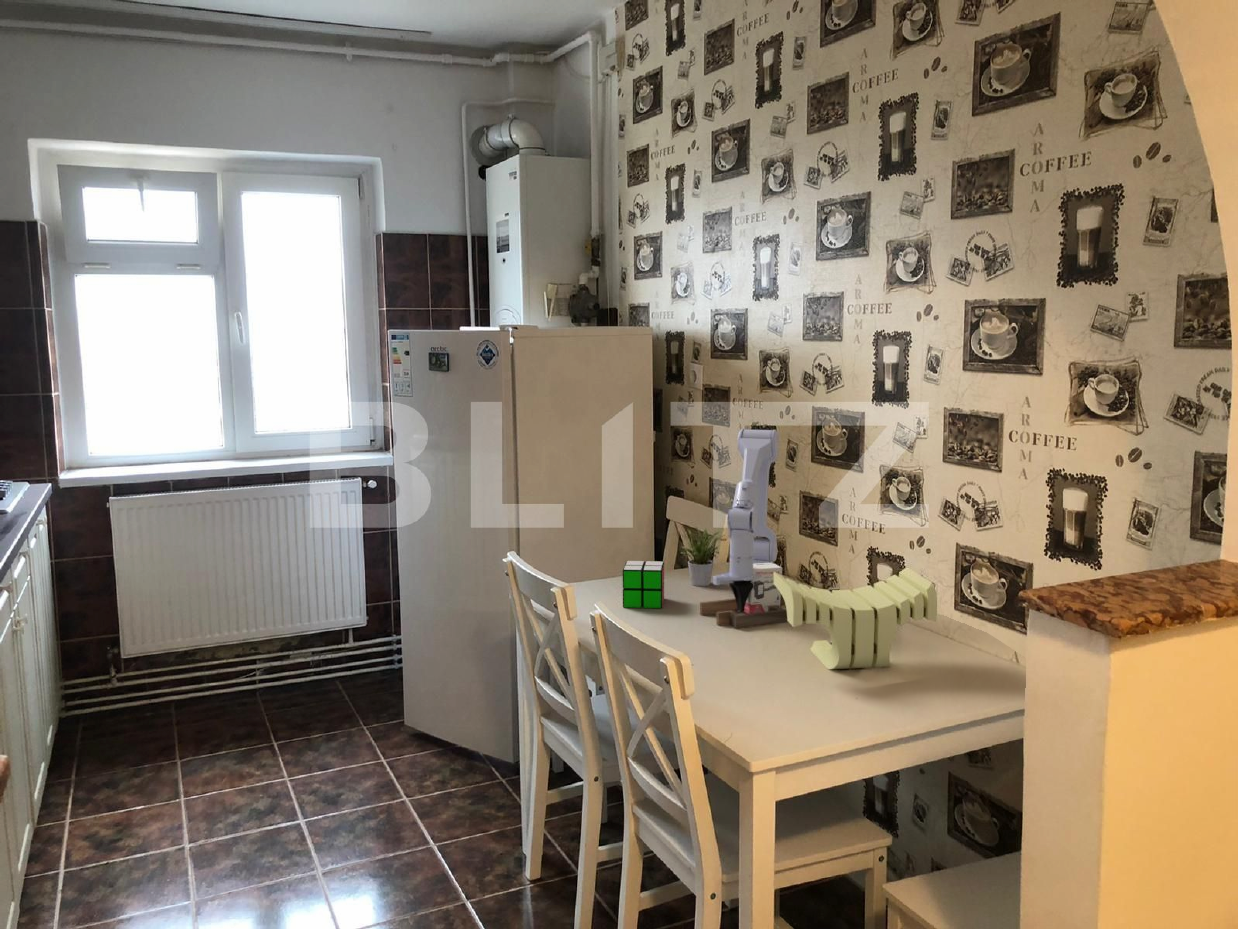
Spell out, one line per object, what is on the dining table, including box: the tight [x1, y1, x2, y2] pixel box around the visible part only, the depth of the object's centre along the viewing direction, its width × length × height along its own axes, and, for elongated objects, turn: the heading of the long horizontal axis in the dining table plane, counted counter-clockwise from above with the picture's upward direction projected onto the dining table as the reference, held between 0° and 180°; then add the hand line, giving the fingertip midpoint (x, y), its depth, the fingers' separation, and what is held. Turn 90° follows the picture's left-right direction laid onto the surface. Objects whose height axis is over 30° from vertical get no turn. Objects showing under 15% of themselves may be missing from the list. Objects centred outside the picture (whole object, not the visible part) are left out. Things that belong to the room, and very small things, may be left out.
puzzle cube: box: [622, 560, 665, 610], centre depth 253 cm, size 10×10×10 cm
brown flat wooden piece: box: [699, 594, 789, 630], centre depth 242 cm, size 14×31×3 cm, turn 111°
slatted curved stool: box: [773, 567, 938, 670], centre depth 208 cm, size 30×16×18 cm, turn 96°
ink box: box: [744, 562, 783, 614], centre depth 244 cm, size 8×5×12 cm, turn 111°
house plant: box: [677, 525, 727, 587], centre depth 271 cm, size 14×14×16 cm
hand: (740, 610), depth 242 cm, fingers closed
